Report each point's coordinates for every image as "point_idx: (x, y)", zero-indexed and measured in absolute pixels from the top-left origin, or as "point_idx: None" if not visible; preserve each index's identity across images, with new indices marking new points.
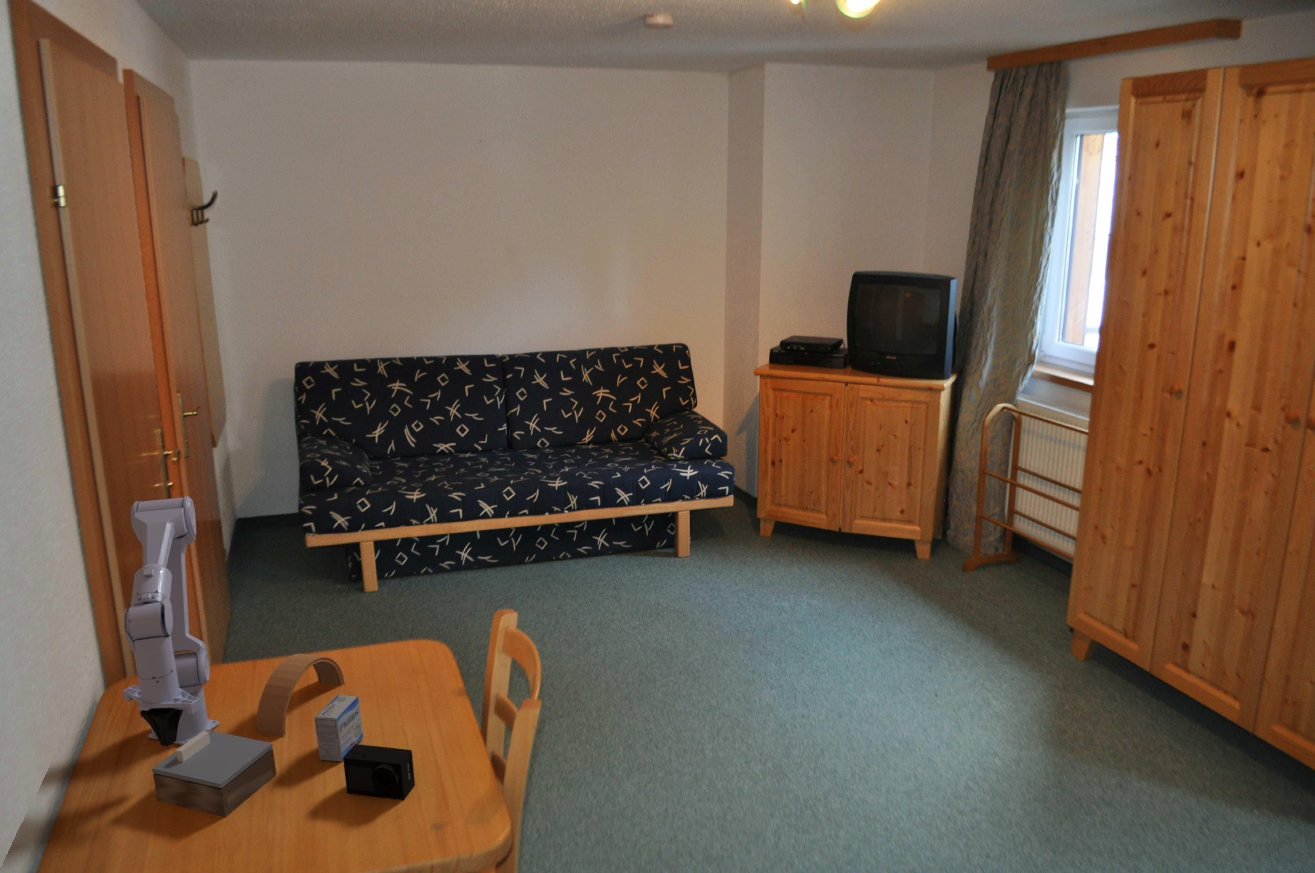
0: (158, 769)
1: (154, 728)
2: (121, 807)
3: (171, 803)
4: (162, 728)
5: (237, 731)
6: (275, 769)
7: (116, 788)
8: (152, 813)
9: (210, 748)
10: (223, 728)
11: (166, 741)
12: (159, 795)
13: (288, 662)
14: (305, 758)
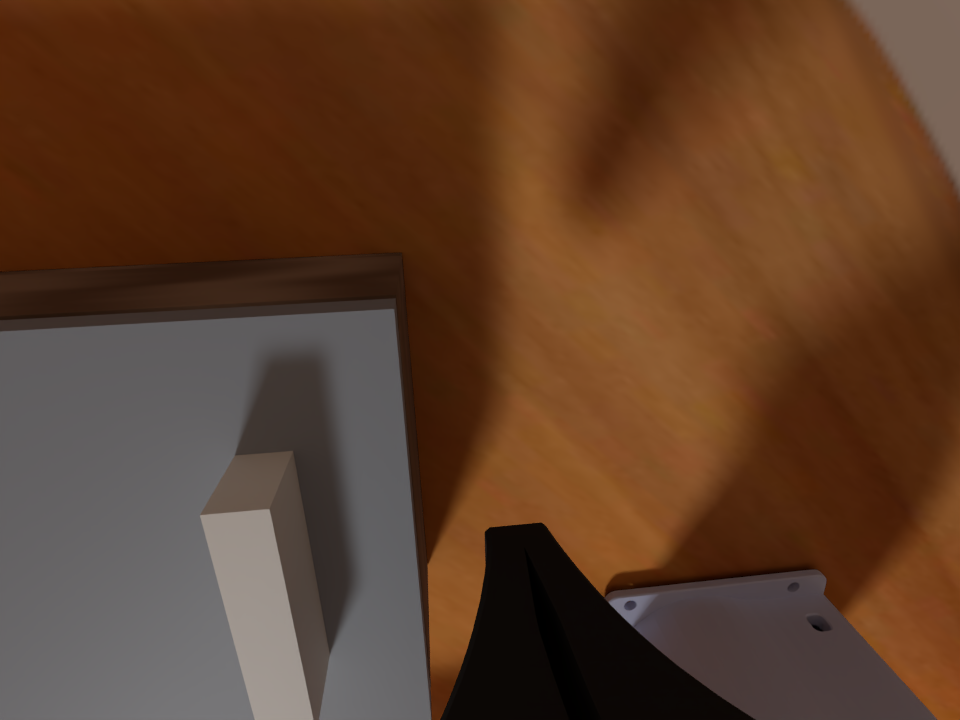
0: (329, 316)
1: (599, 631)
2: (542, 132)
3: (302, 258)
4: (484, 664)
5: None
6: None
7: (696, 253)
8: (325, 151)
9: (211, 622)
10: None
11: (486, 557)
12: (377, 259)
13: None
14: None
